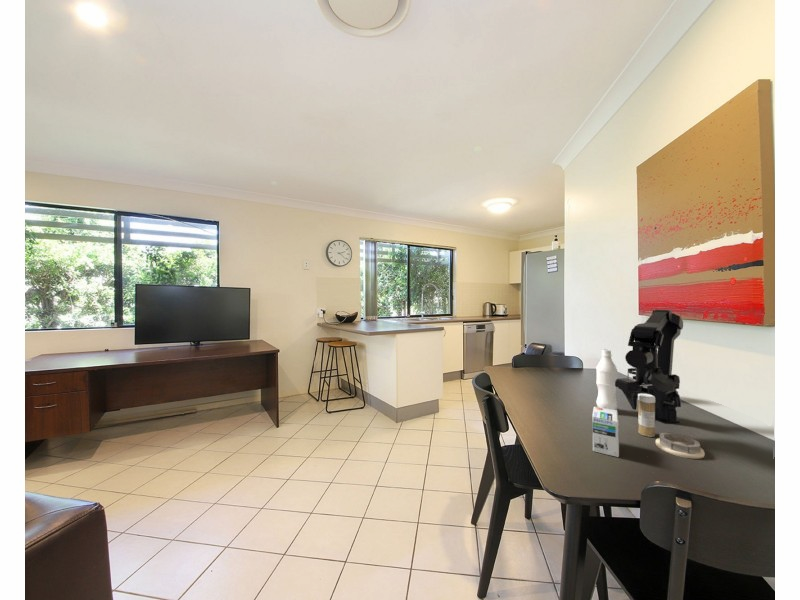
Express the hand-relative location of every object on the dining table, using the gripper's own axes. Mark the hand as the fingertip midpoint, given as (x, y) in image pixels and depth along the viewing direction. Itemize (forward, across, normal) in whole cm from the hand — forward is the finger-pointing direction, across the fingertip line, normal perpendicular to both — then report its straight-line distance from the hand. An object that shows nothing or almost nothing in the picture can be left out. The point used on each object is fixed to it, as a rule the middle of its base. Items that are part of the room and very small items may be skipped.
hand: (646, 408), depth 102 cm
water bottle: (+9, +3, +21) cm, 23 cm away
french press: (+9, +31, +34) cm, 47 cm away
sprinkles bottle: (+9, 0, 0) cm, 9 cm away
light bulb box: (+9, -20, -6) cm, 23 cm away
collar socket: (+9, +1, -10) cm, 13 cm away
